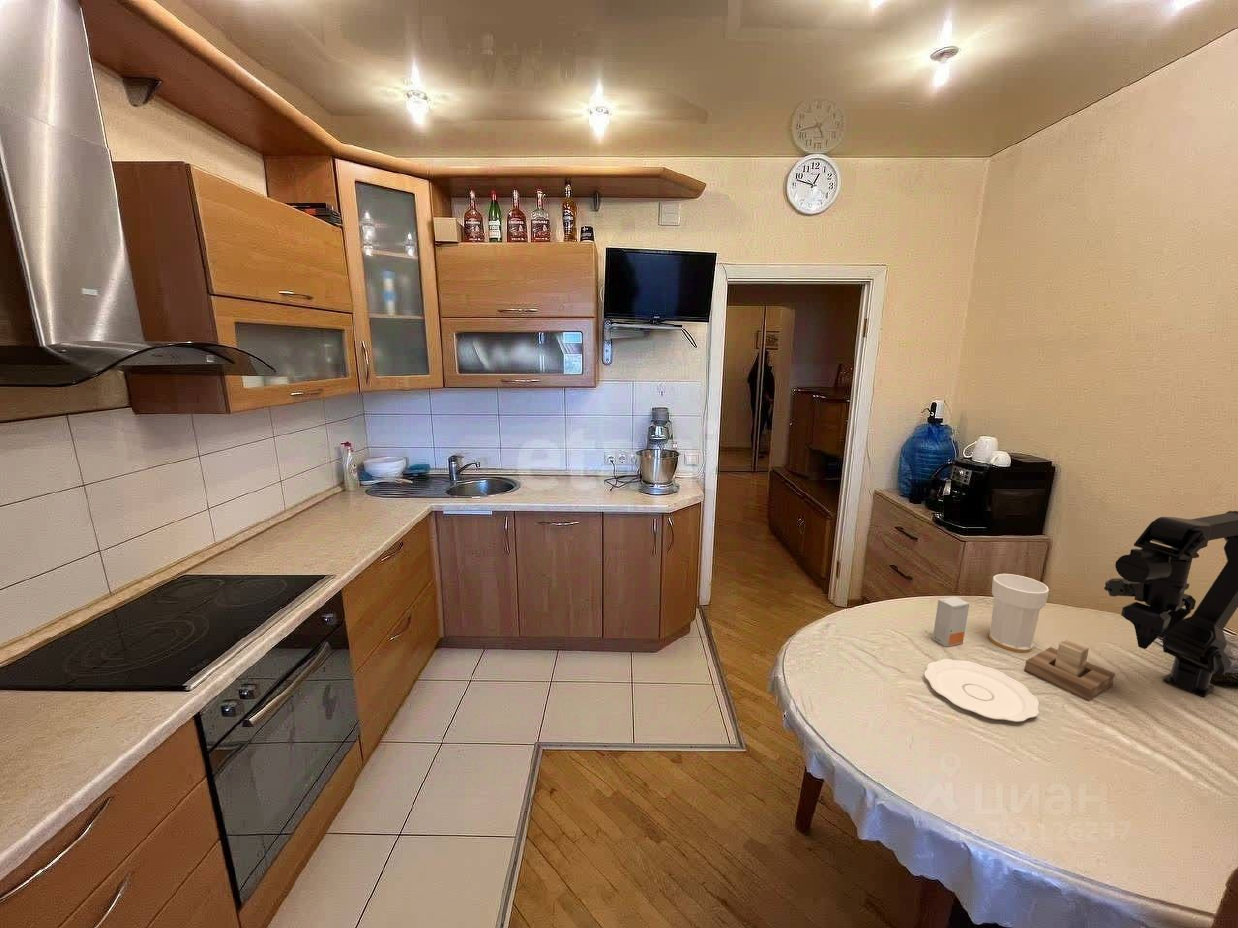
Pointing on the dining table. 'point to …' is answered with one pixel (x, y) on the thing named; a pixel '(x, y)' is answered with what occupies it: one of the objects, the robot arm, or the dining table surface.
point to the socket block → (1070, 675)
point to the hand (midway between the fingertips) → (1150, 642)
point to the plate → (982, 690)
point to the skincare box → (950, 621)
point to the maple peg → (1072, 657)
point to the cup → (1016, 611)
